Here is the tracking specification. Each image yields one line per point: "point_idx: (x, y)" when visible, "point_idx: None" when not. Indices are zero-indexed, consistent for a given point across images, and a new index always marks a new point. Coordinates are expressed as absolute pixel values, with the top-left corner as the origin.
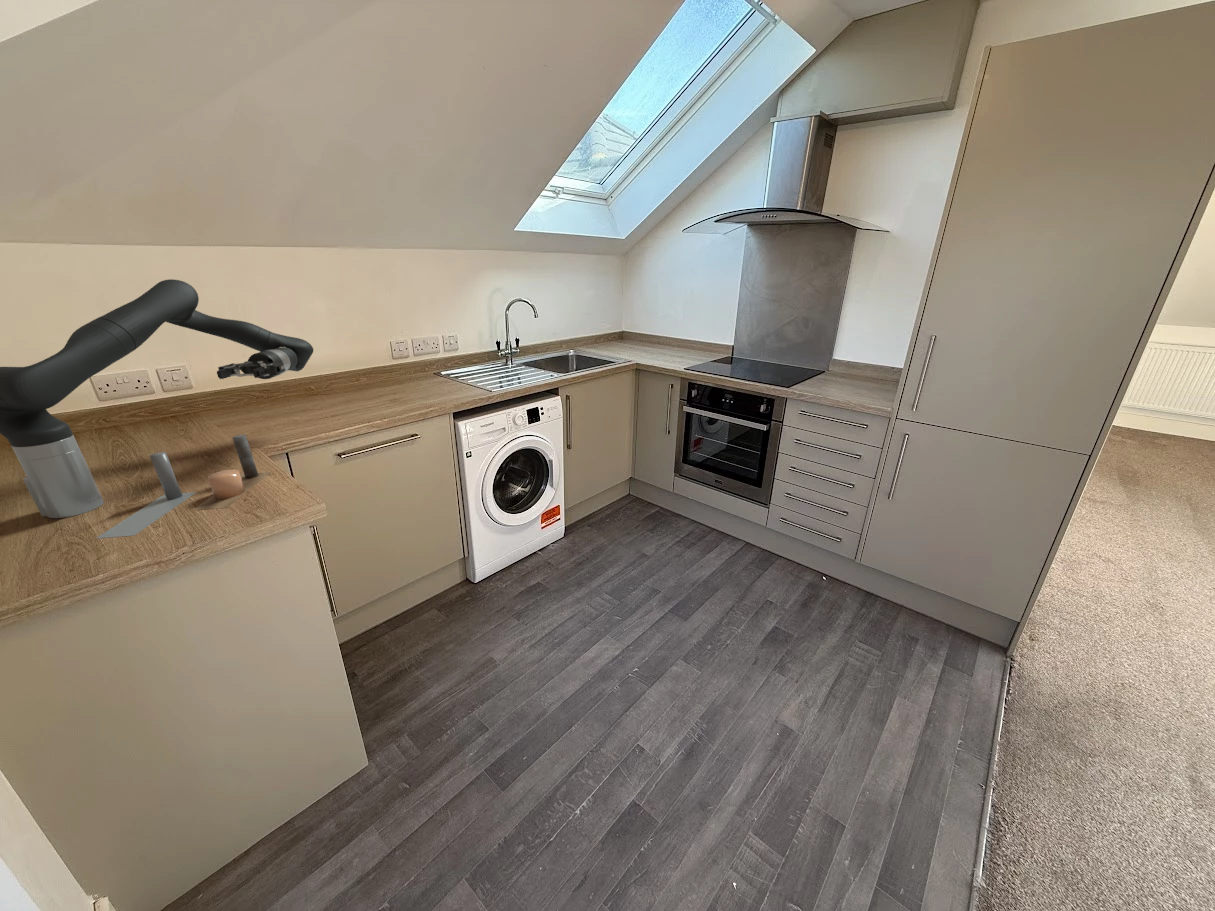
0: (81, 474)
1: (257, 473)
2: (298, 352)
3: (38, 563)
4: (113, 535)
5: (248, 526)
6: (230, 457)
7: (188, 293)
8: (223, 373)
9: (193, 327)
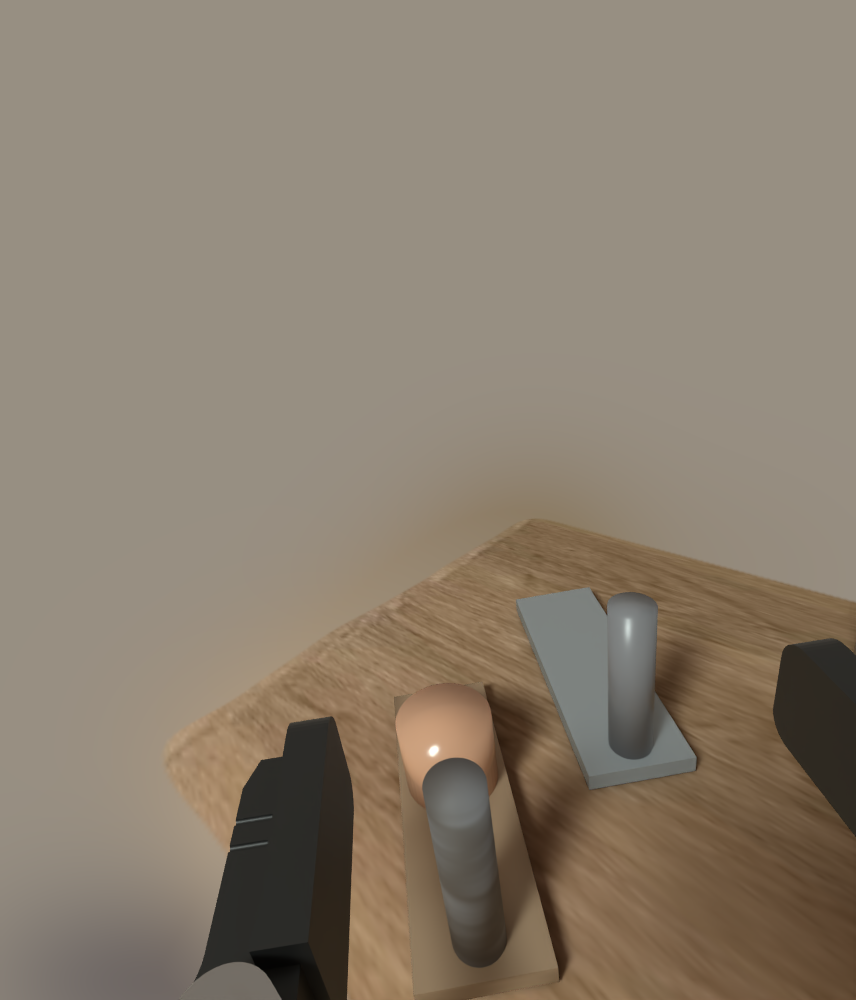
0: None
1: (451, 940)
2: None
3: (625, 560)
4: (561, 596)
5: (307, 667)
6: None
7: None
8: (825, 725)
9: None
